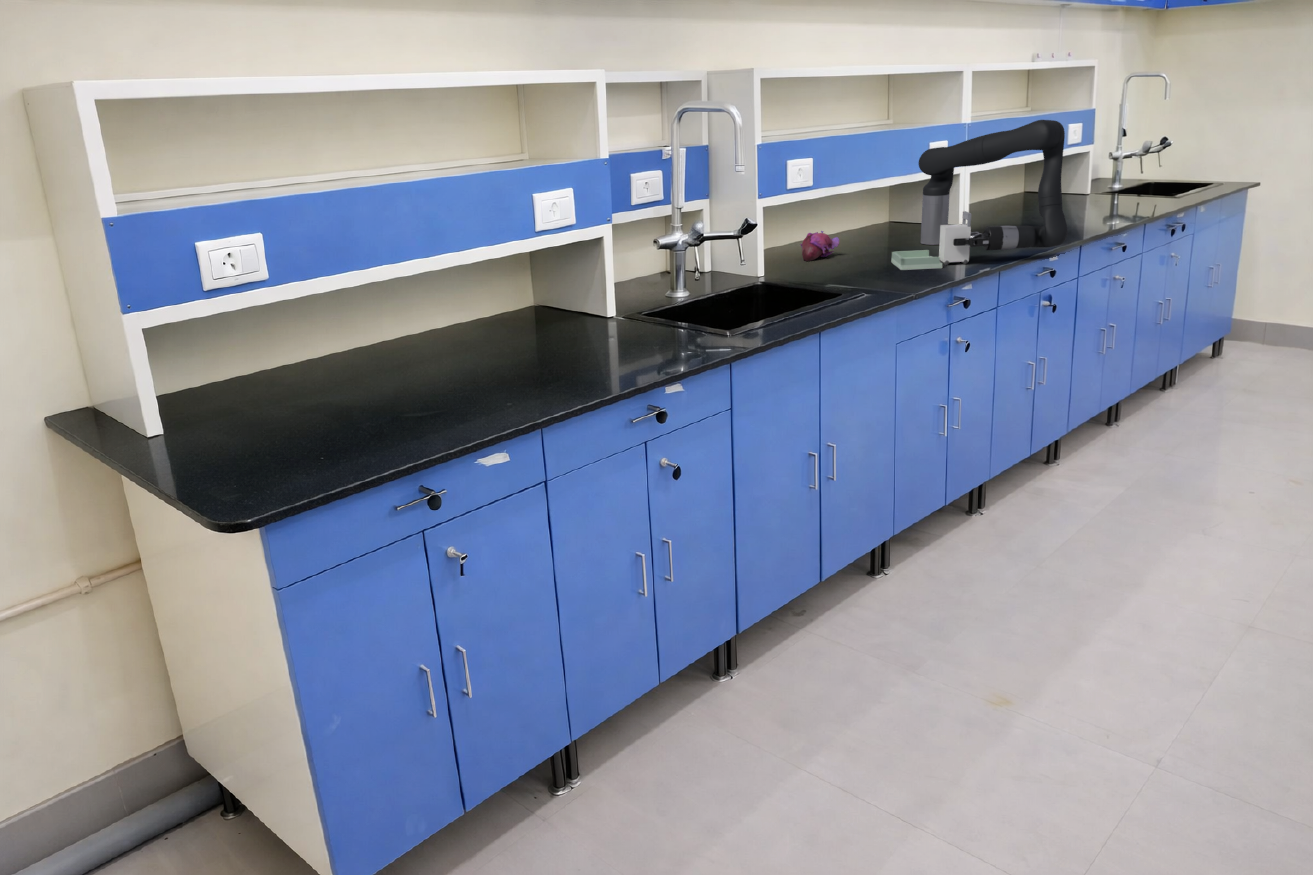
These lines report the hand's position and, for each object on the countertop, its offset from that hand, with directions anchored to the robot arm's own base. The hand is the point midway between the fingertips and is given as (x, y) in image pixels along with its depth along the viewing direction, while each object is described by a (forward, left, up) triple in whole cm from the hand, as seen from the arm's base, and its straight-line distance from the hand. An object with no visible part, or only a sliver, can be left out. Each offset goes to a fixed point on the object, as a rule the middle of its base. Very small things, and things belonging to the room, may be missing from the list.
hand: (950, 240), depth 314 cm
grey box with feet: (0, +2, -8) cm, 8 cm away
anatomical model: (-21, -40, -8) cm, 46 cm away
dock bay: (0, -10, -8) cm, 13 cm away
